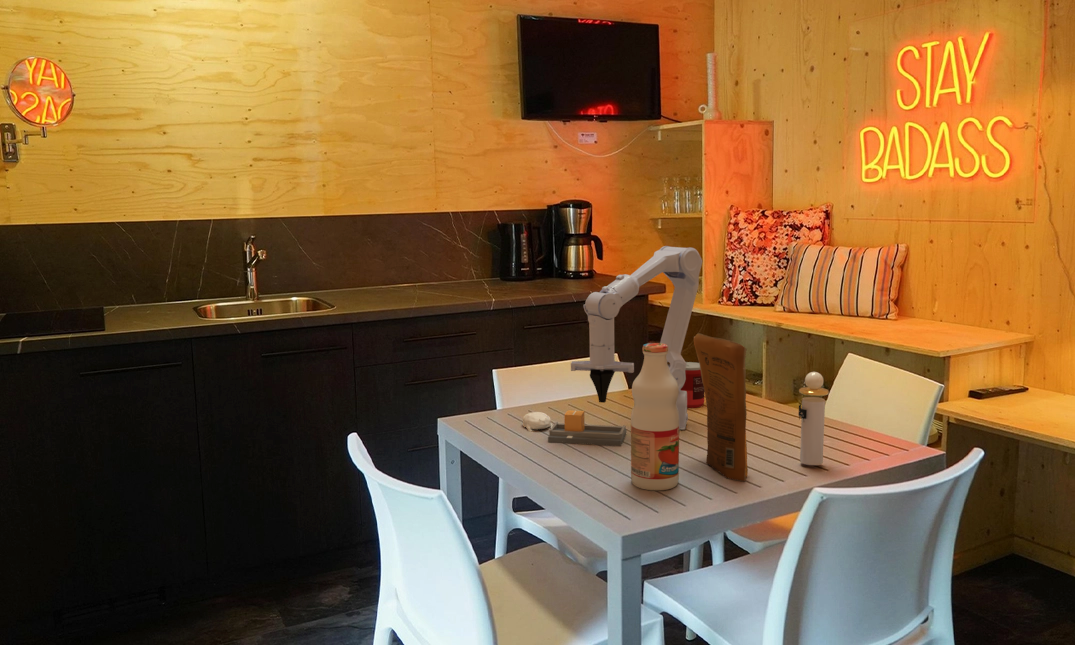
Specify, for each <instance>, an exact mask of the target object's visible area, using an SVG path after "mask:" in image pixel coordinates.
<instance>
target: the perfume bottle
mask: <svg viewBox="0 0 1075 645" xmlns="http://www.w3.org/2000/svg"><path fill="white" fill-rule="evenodd" d="M804 382H805V385H806V386H805V387H800V388H799V390H798V392H799V394H801V395H804V397H802V398H801V401H800V402H799V403H798V419H799V420H798V421H800V420H801V423H800V424H801V426H800V449H799V450H800V452H799V454H800V455H799V462H800V463H802V464H804V465H807V466H821V465H822V464H823V463H824V441H825V440H824V437H825V435H824V434H825V410H826V400H825V398H822V397H825V396H828V395H829V393H830V392H829V389H826V388H823V385H824V377H823V375H822V374H821V373H819V372H817V371H811V372H809V373H807V374H806V376H805V378H804ZM800 418H801V419H800Z"/></svg>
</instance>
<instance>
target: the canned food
mask: <svg viewBox="0 0 1075 645" xmlns="http://www.w3.org/2000/svg"><path fill="white" fill-rule="evenodd" d="M685 362H686V364H687V365H686V369H685V375H686V379H685V383H684V385H683V387H682V388H681V391H687V409H696V408H697V409H699V408H701V406H702V407H703V406H704V403H705V392H704V386H703V382H702V376H701V370H700V364H699V362H694V361H693V362H692V361H689V362H688V361H685Z"/></svg>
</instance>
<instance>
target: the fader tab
mask: <svg viewBox="0 0 1075 645" xmlns="http://www.w3.org/2000/svg"><path fill="white" fill-rule="evenodd" d="M563 418H564V424H565V431H580V432H583V431H584V424H585V410H569V409H568V410H567V411H566V412H565V413H564V417H563Z"/></svg>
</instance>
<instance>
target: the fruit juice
mask: <svg viewBox="0 0 1075 645" xmlns="http://www.w3.org/2000/svg"><path fill="white" fill-rule="evenodd" d="M642 353H643V354H642V355H643V356H644V357H643V358H644V359H643V362H642V367H641V370H640V372H639V374H638V375H637V376H636V377H635V379H634V380H633V382H632V384H631V395H632V400H633V406H632V409H631V414H630V415H631V416H630V479H631V483H632V484H633V486H635V487H636V488H639V489H641V490H642V489H643V490H646V491H665V490H666V491H667V490H670V489H673V488H675V487H677V486H678V484H679V478H680V475H679V474H680V473H679V471H680V469H679V468H680V465H679V464H680V430H679V412H678V409H677V407H676V401H677V398H678V394H679V388H678V384H677V382H676V380H675V379H674V377H673V376H672V375H671V373H670V370H669V368H668V364H669V363H668V362H667V359H666V355H667V354H668V345H666V344H662V343H660V342H650V343H649V342H647V343H645V344H643V345H642Z"/></svg>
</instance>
